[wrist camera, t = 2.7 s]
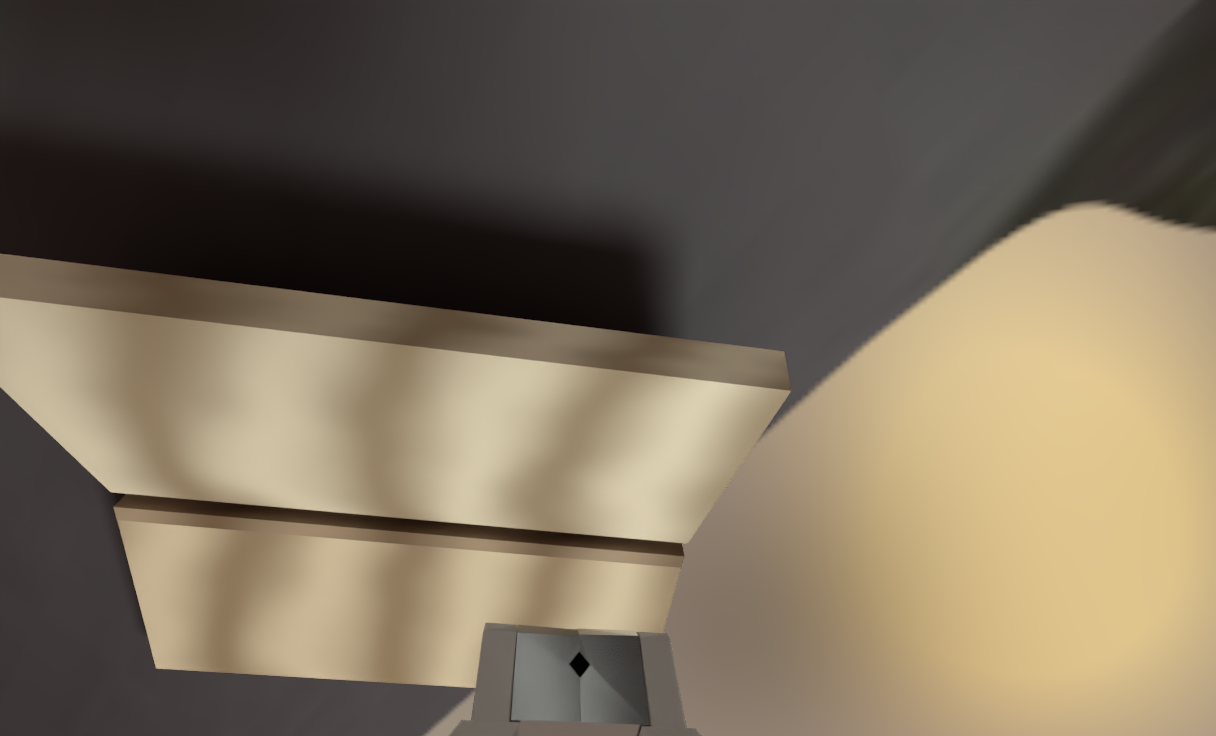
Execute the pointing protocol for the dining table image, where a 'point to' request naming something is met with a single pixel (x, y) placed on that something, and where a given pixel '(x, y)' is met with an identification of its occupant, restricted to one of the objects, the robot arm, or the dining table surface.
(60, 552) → the dining table surface
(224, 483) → the loose plank
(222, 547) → the plank
